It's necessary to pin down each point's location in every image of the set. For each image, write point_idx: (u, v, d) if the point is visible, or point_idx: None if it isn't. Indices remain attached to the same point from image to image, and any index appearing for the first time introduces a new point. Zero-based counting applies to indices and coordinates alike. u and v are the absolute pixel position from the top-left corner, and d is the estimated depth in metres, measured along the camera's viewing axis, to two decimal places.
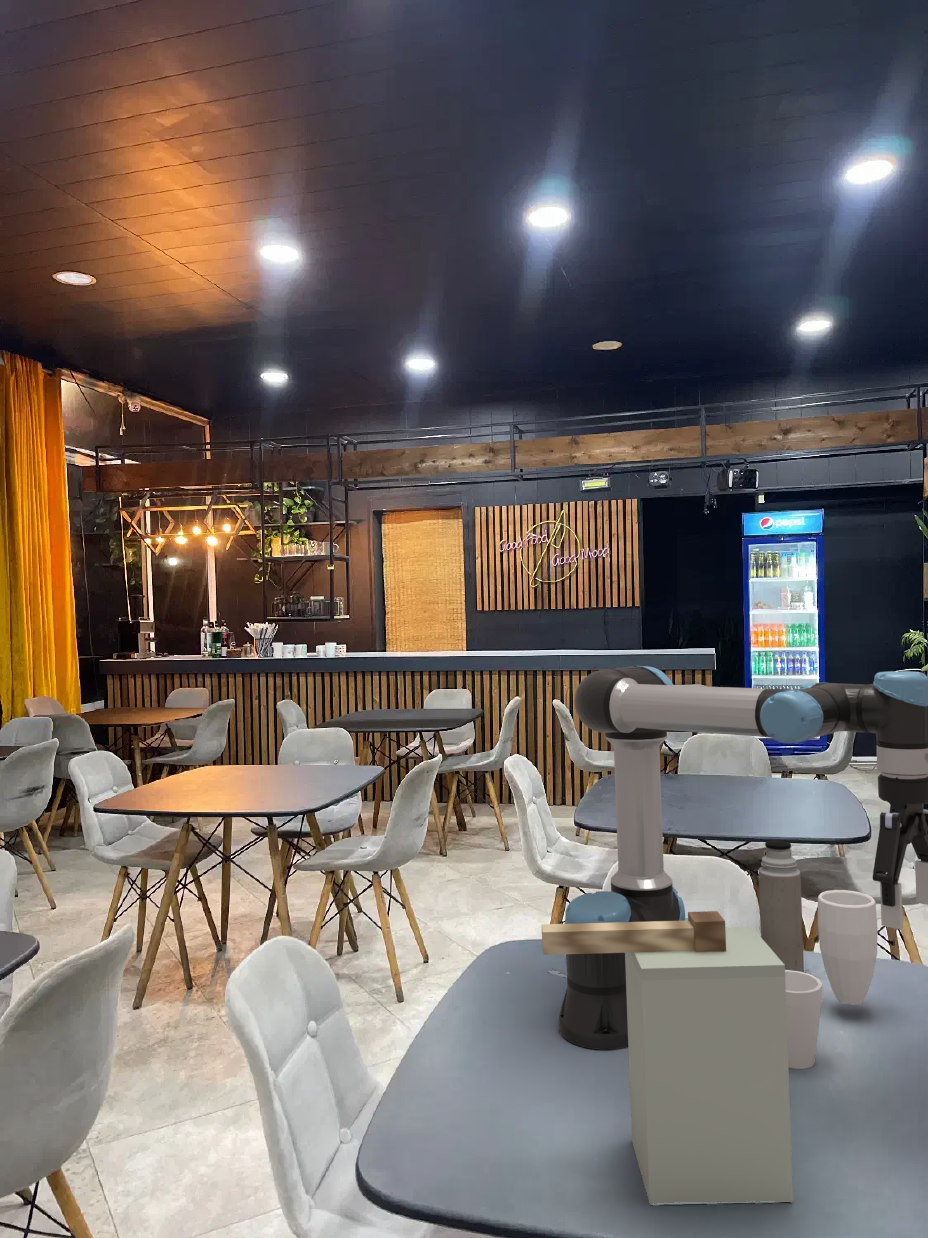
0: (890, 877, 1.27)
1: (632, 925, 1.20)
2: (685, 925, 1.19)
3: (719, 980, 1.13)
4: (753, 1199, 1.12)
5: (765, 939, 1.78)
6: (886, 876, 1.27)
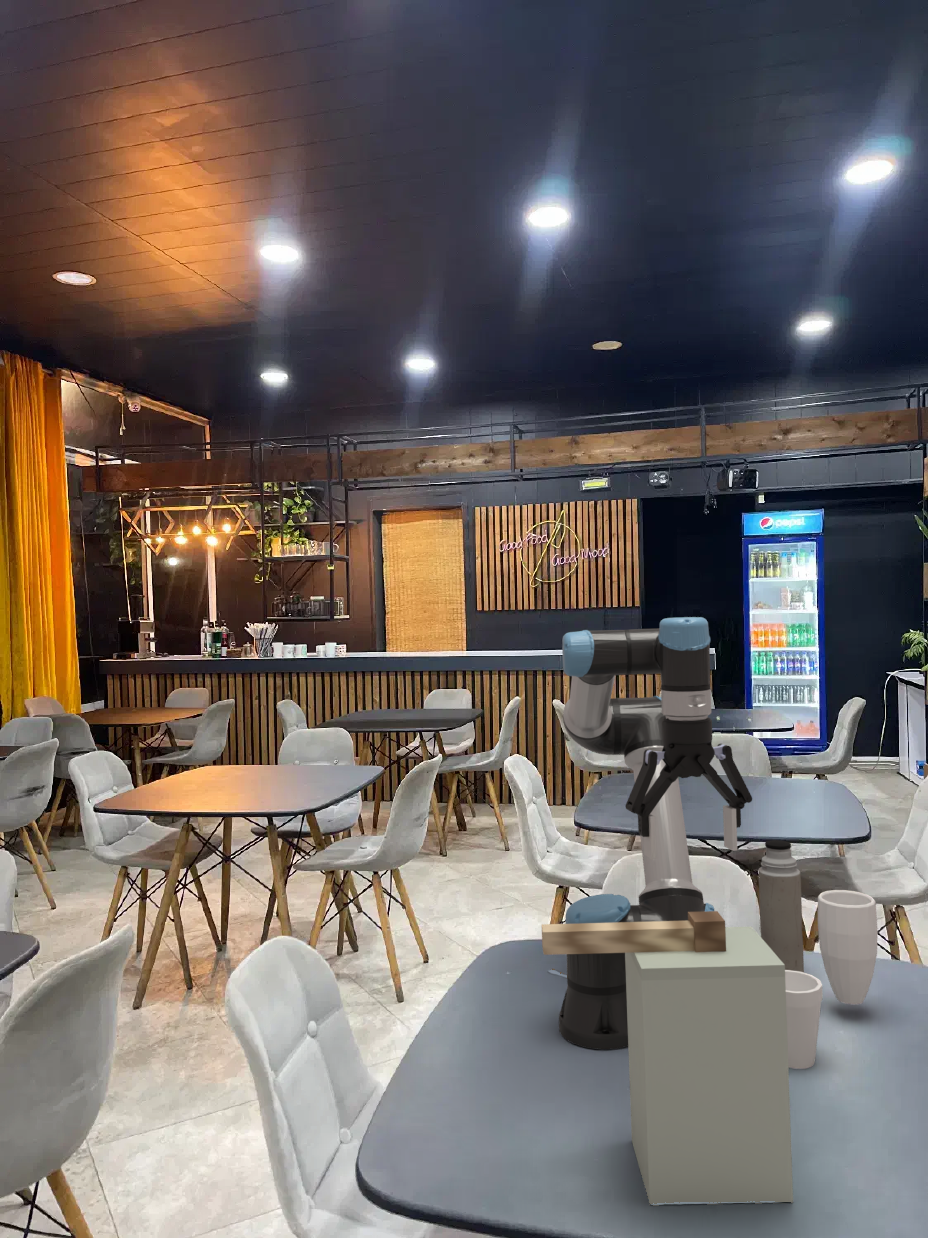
0: (633, 807, 1.35)
1: (632, 925, 1.20)
2: (685, 925, 1.19)
3: (719, 980, 1.13)
4: (753, 1199, 1.12)
5: (765, 939, 1.78)
6: (631, 806, 1.36)
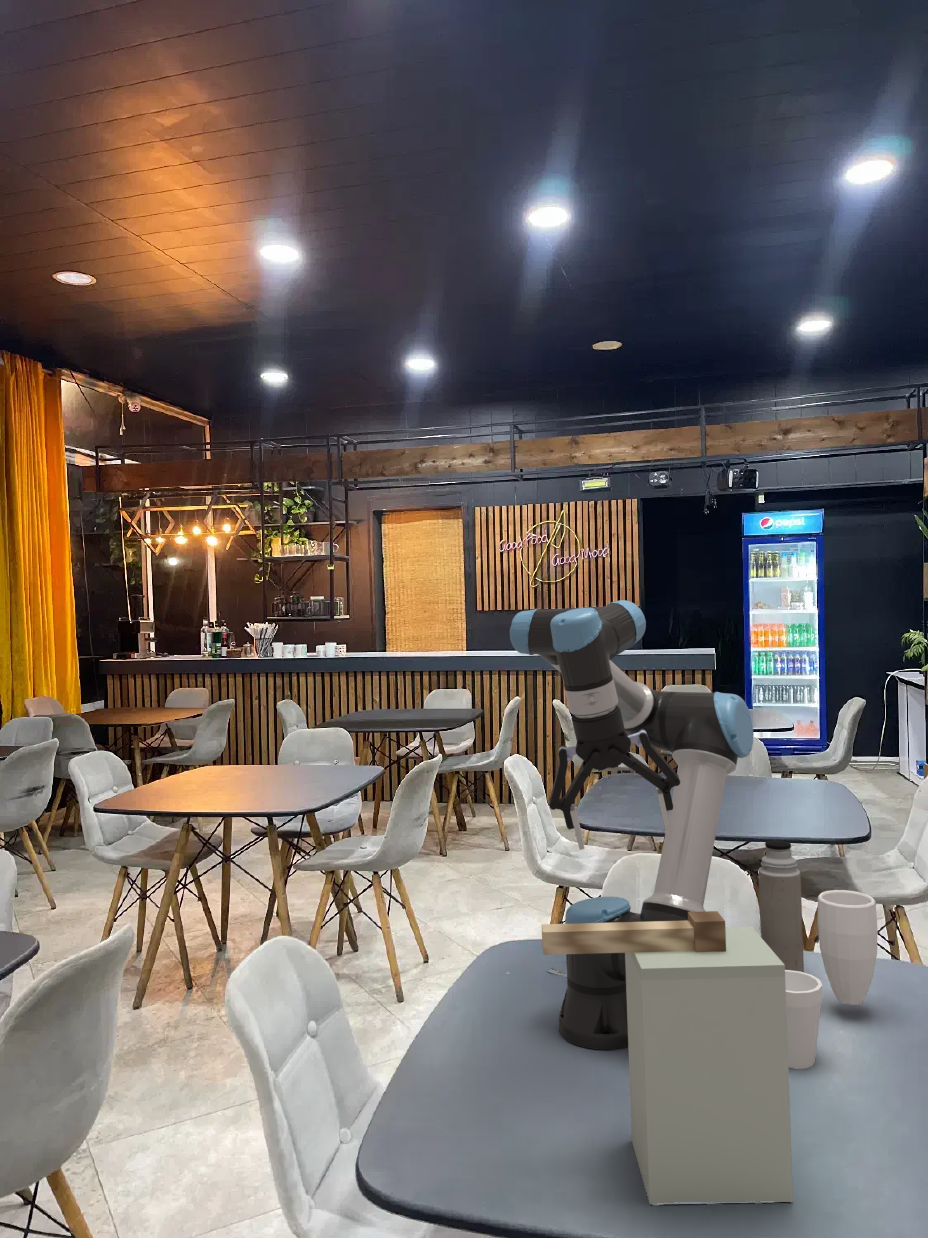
0: (550, 804, 1.38)
1: (632, 925, 1.20)
2: (685, 925, 1.19)
3: (719, 980, 1.13)
4: (753, 1199, 1.12)
5: (765, 939, 1.78)
6: None
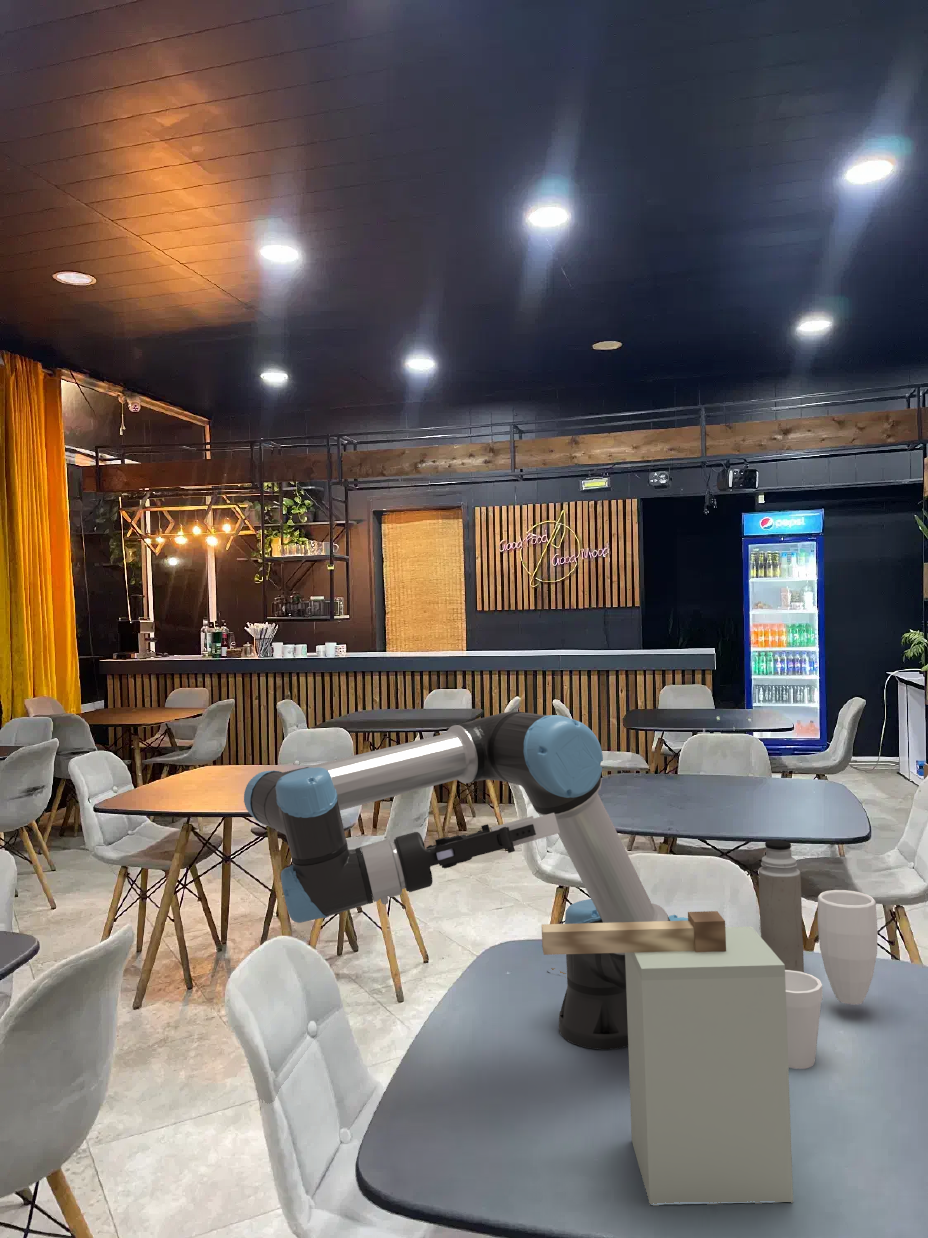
0: None
1: (632, 925, 1.20)
2: (685, 925, 1.19)
3: (719, 980, 1.13)
4: (753, 1199, 1.12)
5: (765, 939, 1.78)
6: None
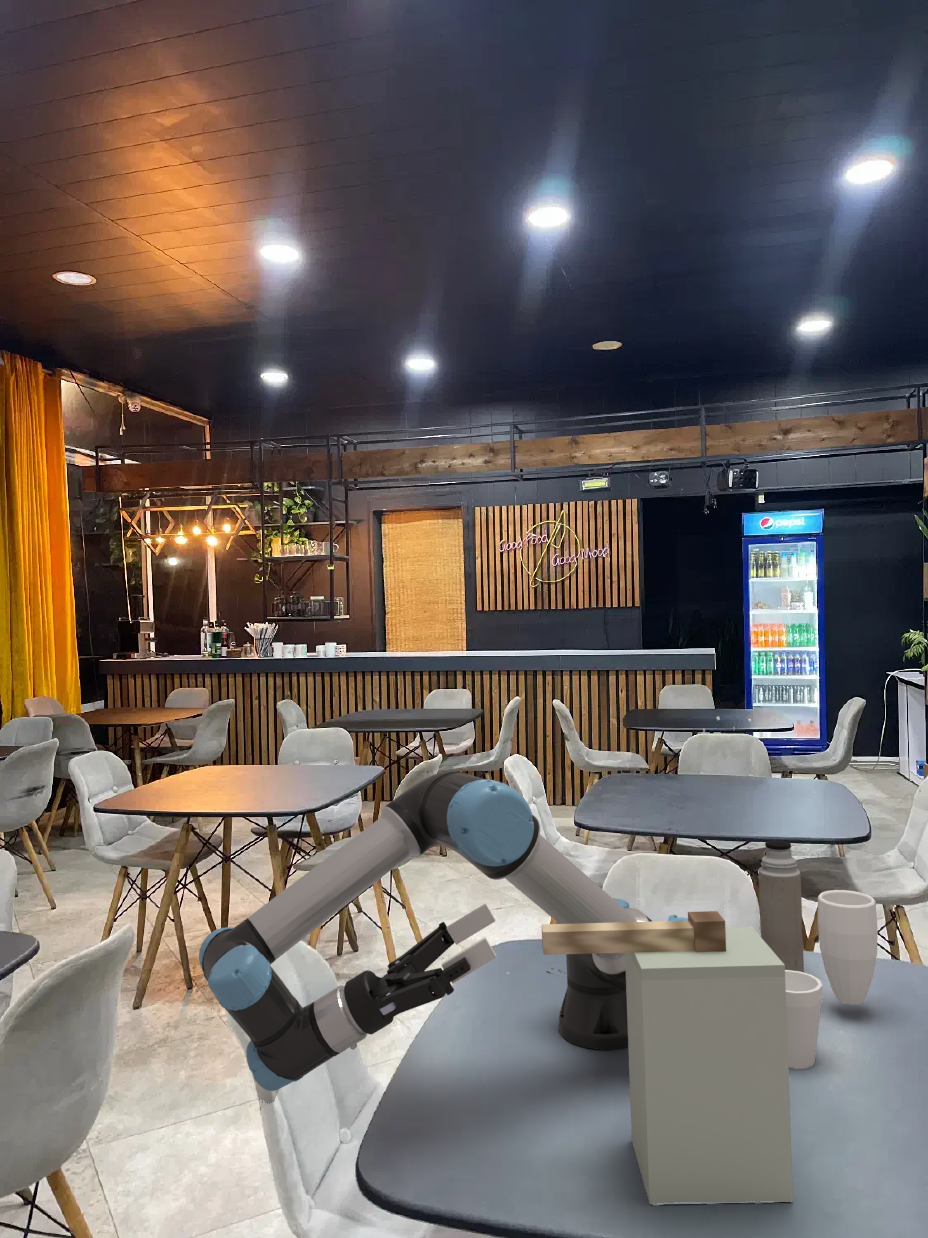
0: None
1: (632, 925, 1.20)
2: (685, 925, 1.19)
3: (719, 980, 1.13)
4: (753, 1199, 1.12)
5: (765, 939, 1.78)
6: None
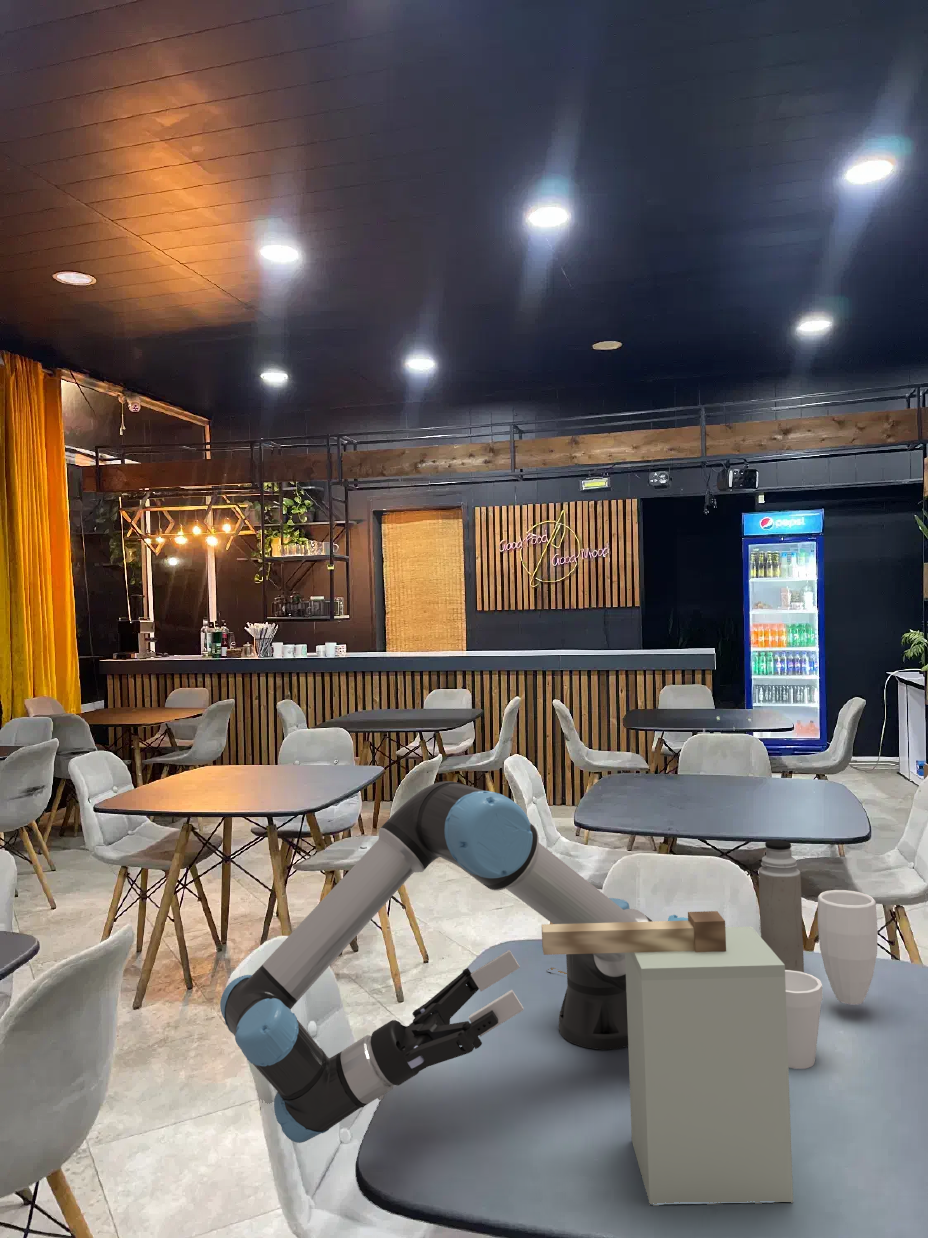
0: None
1: (632, 925, 1.20)
2: (685, 925, 1.19)
3: (719, 980, 1.13)
4: (753, 1199, 1.12)
5: (765, 939, 1.78)
6: None
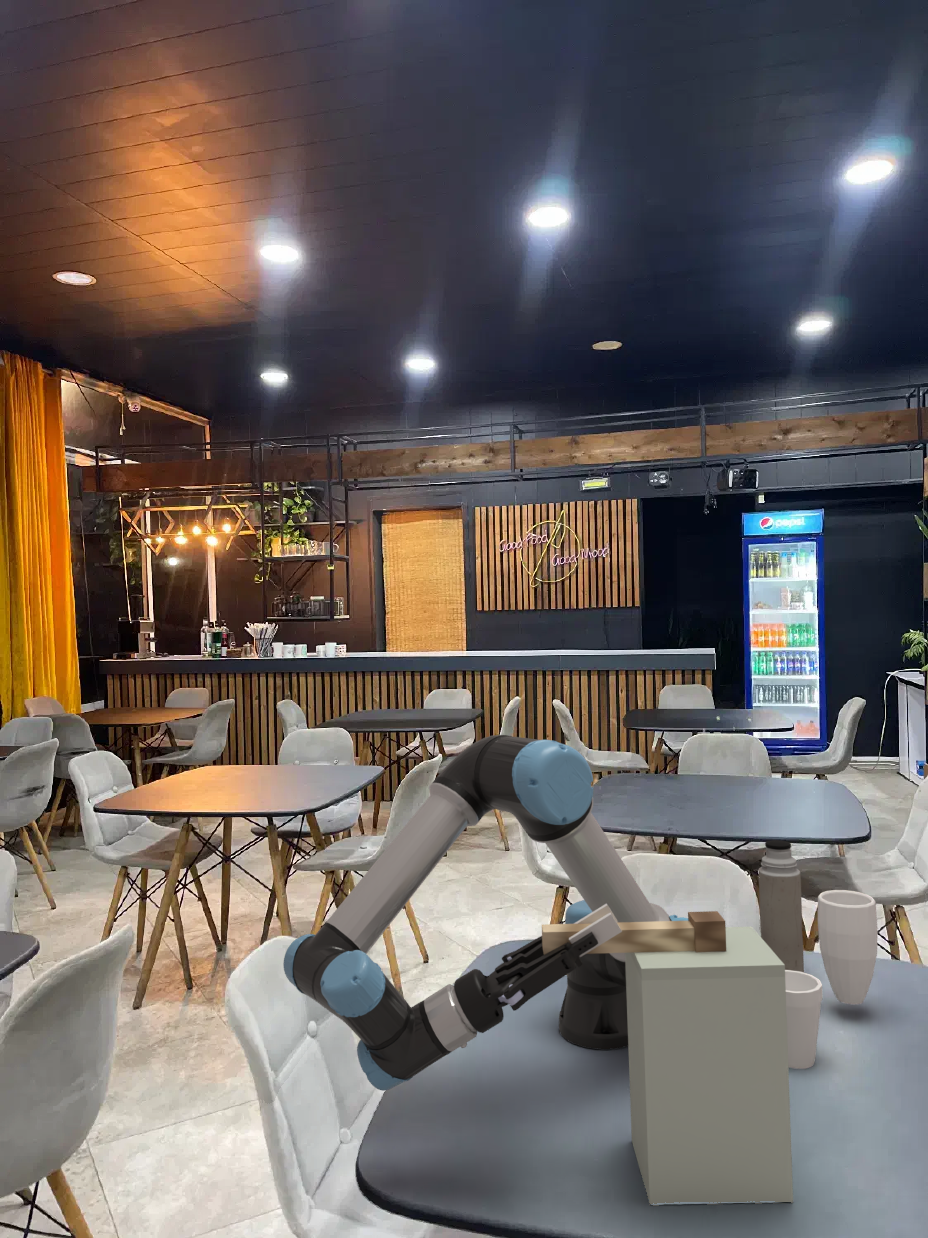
0: None
1: (632, 925, 1.20)
2: (686, 925, 1.19)
3: (719, 980, 1.13)
4: (753, 1199, 1.12)
5: (765, 939, 1.78)
6: None
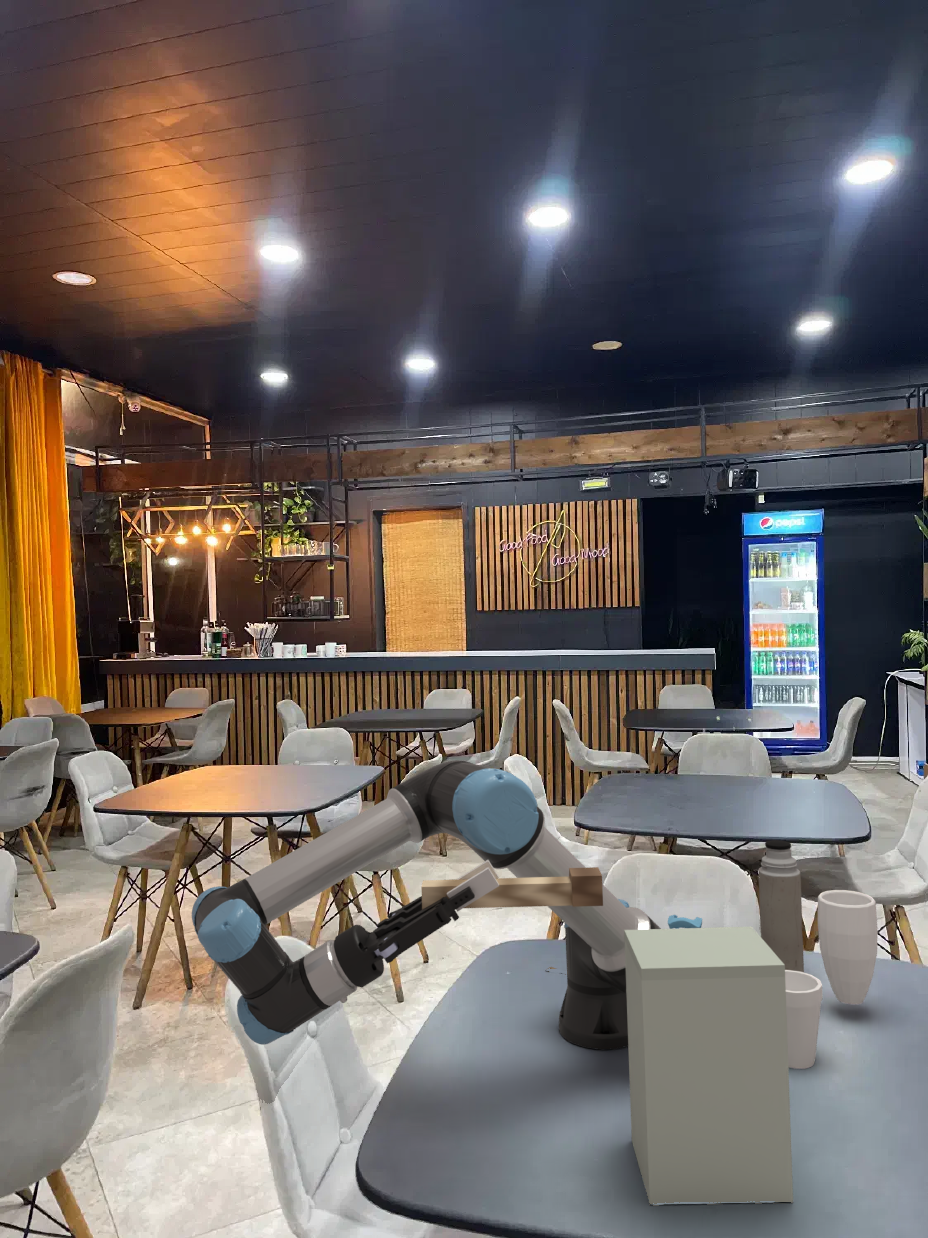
0: None
1: (512, 880, 1.21)
2: (564, 880, 1.20)
3: (719, 980, 1.13)
4: (753, 1199, 1.12)
5: (765, 939, 1.78)
6: None
